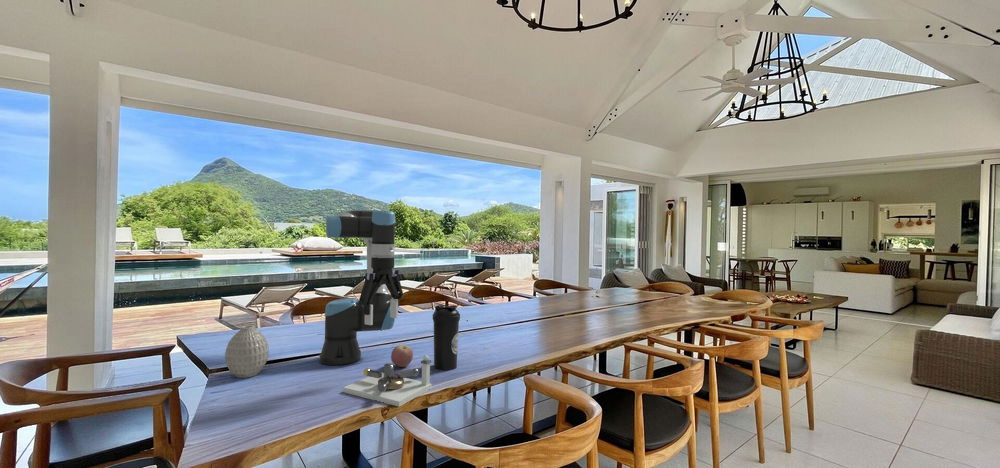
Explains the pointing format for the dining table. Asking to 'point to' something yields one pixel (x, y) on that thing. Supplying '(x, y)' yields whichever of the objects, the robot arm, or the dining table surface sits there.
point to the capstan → (390, 377)
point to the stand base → (393, 397)
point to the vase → (246, 352)
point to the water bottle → (446, 337)
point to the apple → (402, 355)
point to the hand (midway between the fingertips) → (381, 321)
